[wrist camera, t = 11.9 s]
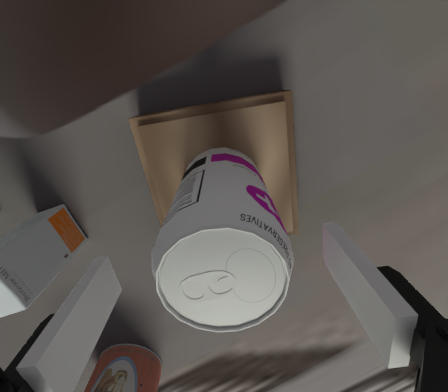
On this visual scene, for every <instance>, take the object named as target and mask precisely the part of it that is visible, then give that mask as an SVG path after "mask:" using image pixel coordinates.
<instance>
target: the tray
mask: <svg viewBox="0 0 448 392" xmlns="http://www.w3.org/2000/svg"><path fill="white" fill-rule="evenodd" d="M129 123H130V126H131V129H132V132H133V136H134V139H135V142H136V146H137V149H138V152H139V156H140V159H141V162H142V165H143V169H144V172H145V175H146V179H147V182H148V185H149V188H150V192H151V195H152V198H153V202H154V205H155V208H156V212H157V215H158V218H159V221H160V225H161V227H162V225H163V223H164V220H165V218H166V216H167V213H168V211H169V209H170V206H171V204H172V202H173V199H174V197H175V195H176V192H177V190H178V188H179V185H180V183H181V181H182V178H183V176H184V174H185V171H186V169H187V167H188V165H189V164H190V163H191V162H192V161H193V159H194V158H195V157H196V156H197V155H199V154H201V153H203V152H205V151H207V150H209V149H214V148H223V147H226V148H230V149H234V150H238V151H240V152H242V153H243V154H245V155H246V156H247V157H249V158H250V159H251V160H252V161H253V163H254V164H255V165H256V167H257V168H258V170H259V172H260V174H261V176H262V179H263V181H264V183H265V185H266V188H267V190H268V192H269V194H270V197H271V199H272V201H273V203H274V206H275V208H276V210H277V212H278V215H279V217H280V219H281V221H282V224H283V226H284V228H285V230H286V232H287V235H293V234H299V222H298V202H297V182H296V162H295V142H294V122H293V102H292V90H281V91H275V92H269V93H264V94H258V95H252V96H246V97H241V98H235V99H229V100H223V101H218V102H212V103H206V104H200V105H195V106H189V107H183V108H177V109H172V110H166V111H160V112H154V113H149V114H143V115H138V116H135V117H132V118H130V119H129Z"/></svg>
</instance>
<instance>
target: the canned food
mask: <svg viewBox="0 0 448 392" xmlns="http://www.w3.org/2000/svg"><path fill="white" fill-rule="evenodd" d="M162 368H163V365H162V361H161V359H160V358H159V357H158V355H157V354H156V353H154V352H153V351H152V350H150V349H148V348H146V347H144V346H141V345H136V344H128V343H125V344H117V345H113V346H110V347H108V348H107V349H105V350H104V351H103V352H102V353H101V355H100V356H99V359H98V362H97V364H96V367H95V369H94V371H93V373H92V376H91V378H90V380H89V382H88V384H87V387H86V389H85V391H84V392H157V390H158V385H159V380H160V375H161V372H162Z"/></svg>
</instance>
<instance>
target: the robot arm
mask: <svg viewBox="0 0 448 392" xmlns="http://www.w3.org/2000/svg"><path fill="white" fill-rule="evenodd" d="M323 262H324V263H325V265H326V267H327V268H328V270H329V272H330V273H331V275H332V277H333V278H334V280H335V282H336V283H337V285H338V287H339V288H340V290H341V291H342V293H343V295H344V296H345V298H346V300H347V301H348V303H349V305H350V306H351V308H352V310H353V311H354V313H355V315H356V316H357V318H358V320H359V321H360V323H361V325H362V326H363V328H364V329H365V331H366V333H367V334H368V336H369V338H370V339H371V341H372V343H373V344H374V346H375V348H376V349H377V351H378V353H379V354H380V356H381V358H382V359H383V361H384V362H385V364H386V366H387V367H388V368H396V367H404V366H408V364H409V359H410V356H411V358H412V359H413V361H414V362H415V363H416V365H417V366H418V368H417V372H416V376H415V381H414V384H415V390H414V392H448V319H445V318H444V317H443V316H442V315H441V314H440V313H439V312H438V311H437V310H436V309H435V308H434V307H433V306H432V305H431V304H430V303H429V302H428V301H427V300H426V299H425V298H424V297H423V296H422V295H421V294H420V293H419V292H418V291H417V290H415V288H414V287H413V286H412V285H411V284H410V283H408V281H407V280H406V279H405V278H404V277H403V276H402V274H401V273H400V272H398V271H396V270H394V269H393V268H391V267H389V266H383V267H376V266H375V265H374V264H373V263H372V262H371V261H370V260H369V259H368V257H367V256H366V255H365V254H364V253H363V252H362V251H361V249H360V248H359V247H358V246H357V245H356V244H355V243H354V241H353V240H352V239H351V238H350V237H349V236H348V235H347V234H346V232H345V231H344V230H343V229H342V228H341V227H340V226H339V224H338V223H337V222H336V221H335V222H328V223H323ZM121 291H122V289H121V286H120V284H119V282H118V279H117V277H116V274H115V272H114V270H113V267H112V265H111V263H110V260H109V258H108V256H102V257H96V258H95V259H94V260H93V262H92V263H91V265H90V266H89V267H88V269H87V270H86V271H85V273H84V274H83V276H82V277H81V278H80V280H79V281H78V283H77V284H76V285H75V287H74V288H73V290H72V291H71V292H70V294H69V295H68V296H67V298H66V299H65V301H64V302H63V303H62V305H61V306H60V308H59V309H58V310H57V312H56V313H55V314H51V315H49V316H48V317H47V318H46V319H45V320H44V321H43V322H42V323H40V325H39V326H38V327H37V329H36V330H35V331H34V333H33V335H32V336H31V337H30V338H29V339H28V341H27V343H26V344H25V345H24V346H23V347H22V349H21V350H20V351H19V353H18V354H17V355H16V357H15V358H14V359H13V361H12V362H11V363H10V365H9V366H8V367H7V369H6V370H5V371H3V370H2V369H1V368H0V392H74V390H75V388H76V386H77V384H78V382H79V380H80V377H81V375H82V373H83V371H84V369H85V367H86V365H87V363H88V361H89V358H90V356H91V354H92V352H93V350H94V348H95V346H96V344H97V342H98V339H99V337H100V335H101V333H102V331H103V329H104V327H105V325H106V323H107V320H108V318H109V316H110V314H111V312H112V310H113V308H114V306H115V304H116V301H117V299H118V297H119V295H120V293H121Z"/></svg>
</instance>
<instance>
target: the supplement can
mask: <svg viewBox="0 0 448 392" xmlns="http://www.w3.org/2000/svg"><path fill="white" fill-rule="evenodd" d="M151 258H152V273H153V276H154V278H155V281H156V289H157V293H158V295H159V297H160V299H161V301H162V303H163V305H164V307H165V308H166V309H167V310H168V311H169V312H170V313H172V314H173V315H174V316H175V317H176V318H177V319H178V320H179V321H181V322H184V323H186V324H188V325H190V326H192V327H195V328H197V329H201V330H207V331H213V332H230V331H240V330H243V329H246V328H249V327H252V326H255V325H258V324H260V323H261V322H262V321H264V320H265V319H267V318H268V317H270V316H271V315H272V314H274V313H275V312H276V310H277V309H278V308H279V306H280V305H281V303H282V302H283V301H284V299H285V298H286V294H287V290H288V285H289V281H290V276H291V272H292V267H293V263H294V257H293V253H292V248H291V243H290V239H289V237H288V235H287V232H286V230H285V228H284V226H283V224H282V221H281V219H280V217H279V215H278V212H277V210H276V208H275V206H274V203H273V201H272V199H271V197H270V194H269V192H268V190H267V188H266V185H265V183H264V181H263V179H262V176H261V174H260V172H259V170H258V168H257V167H256V165H255V164H254V163H253V161H252V160H251V159H250V158H249V157H247V156H246V155H245V154H243V153H242V152H240V151H238V150H234V149H230V148H226V147H223V148H214V149H209V150H207V151H205V152H203V153H201V154H199V155H197V156H196V157H195V158H194V159H193V161H192V162H191V163H190V164H189V165H188V167H187V169H186V171H185V174H184V176H183V178H182V181H181V183H180V185H179V188H178V190H177V192H176V195H175V197H174V199H173V202H172V204H171V206H170V209H169V211H168V213H167V216H166V218H165V220H164V223H163V225H162V227H161V230H160V232H159V234H158V237H157V239H156V242H155V244H154V247H153V249H152V252H151Z"/></svg>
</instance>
